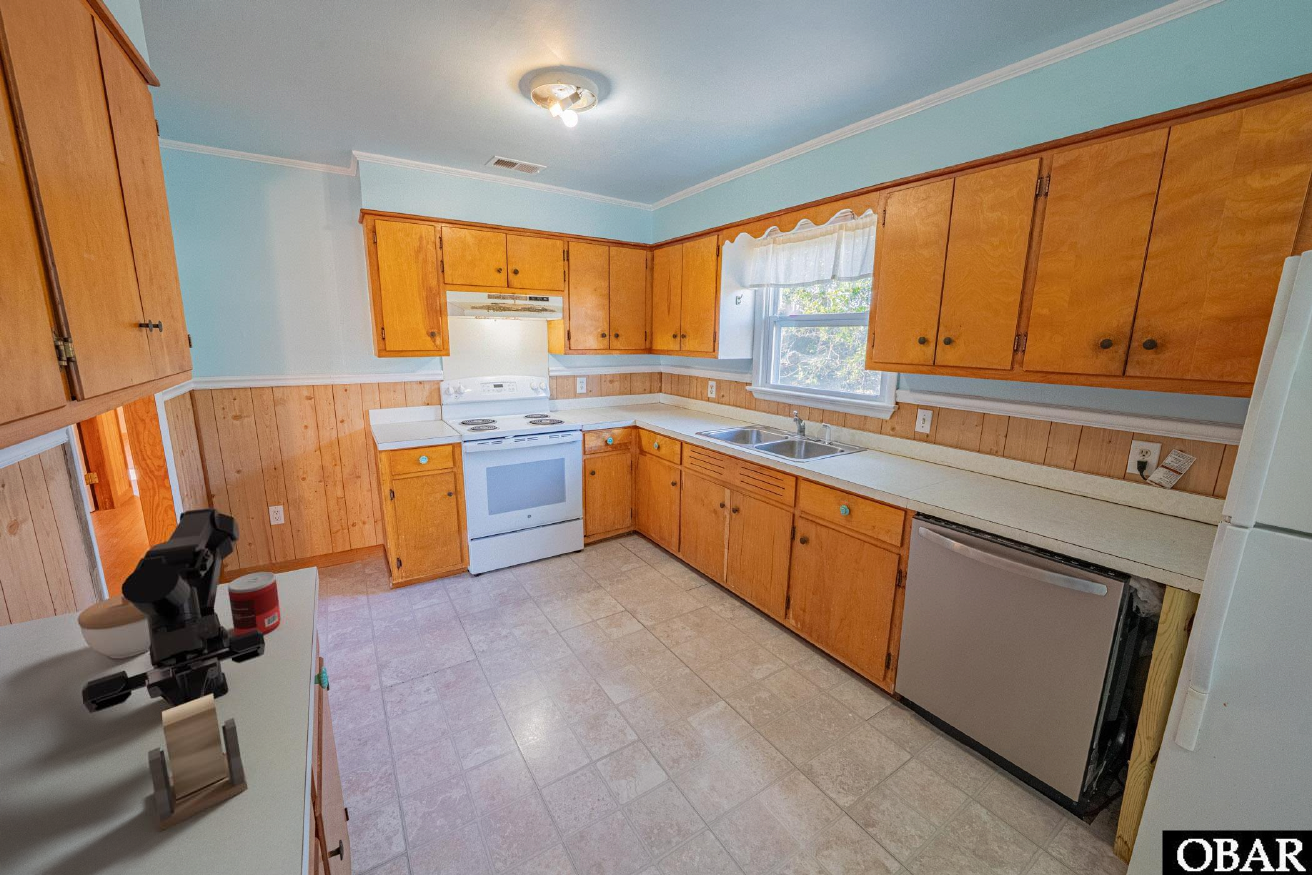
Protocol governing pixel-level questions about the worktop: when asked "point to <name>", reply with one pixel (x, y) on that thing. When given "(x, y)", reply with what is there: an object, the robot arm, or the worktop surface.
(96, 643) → the lidded bowl
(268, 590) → the canned food
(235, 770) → the wooden phone stand
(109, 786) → the worktop surface
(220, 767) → the curved wooden panel
